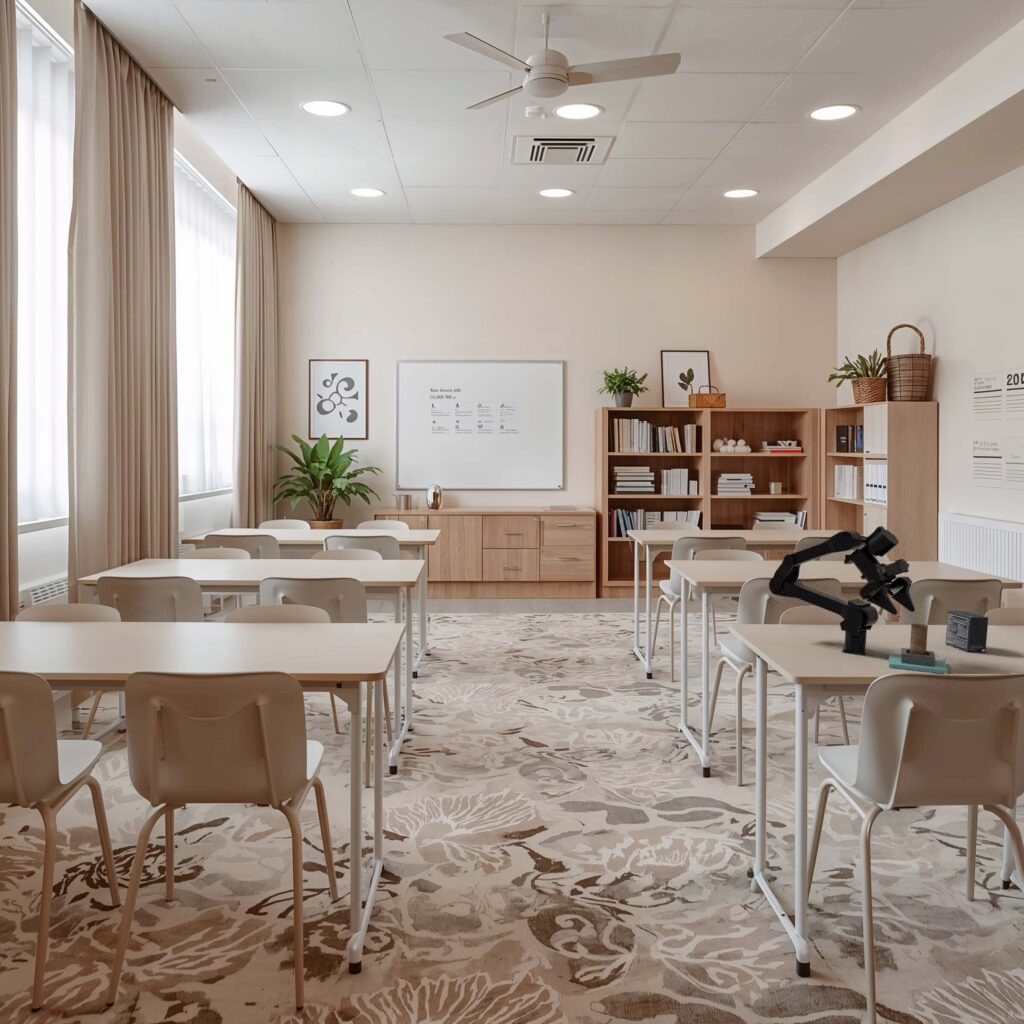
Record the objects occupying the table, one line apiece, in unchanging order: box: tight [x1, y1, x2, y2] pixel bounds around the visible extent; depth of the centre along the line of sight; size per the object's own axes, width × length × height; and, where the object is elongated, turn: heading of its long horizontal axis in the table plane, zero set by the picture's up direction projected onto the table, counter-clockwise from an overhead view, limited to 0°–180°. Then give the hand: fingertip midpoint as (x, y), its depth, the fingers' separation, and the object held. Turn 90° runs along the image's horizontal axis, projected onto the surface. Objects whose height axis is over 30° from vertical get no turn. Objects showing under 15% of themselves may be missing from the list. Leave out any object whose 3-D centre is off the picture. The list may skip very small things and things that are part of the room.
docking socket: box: [888, 647, 949, 674], centre depth 241 cm, size 14×14×4 cm
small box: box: [944, 610, 989, 652], centre depth 265 cm, size 11×6×10 cm, turn 9°
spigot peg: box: [909, 622, 929, 655], centre depth 240 cm, size 4×4×10 cm
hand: (905, 612), depth 243 cm, fingers open, 9 cm apart
